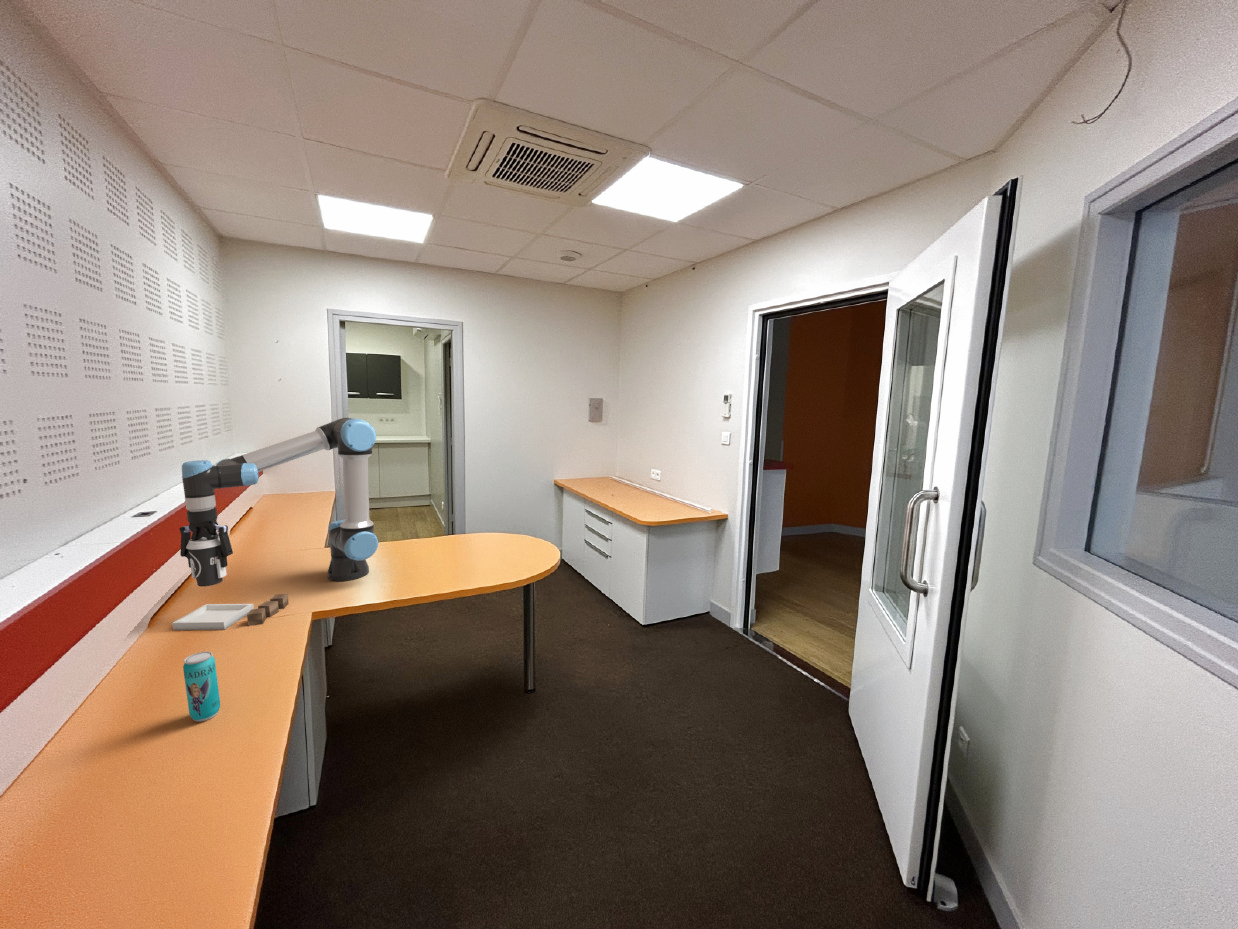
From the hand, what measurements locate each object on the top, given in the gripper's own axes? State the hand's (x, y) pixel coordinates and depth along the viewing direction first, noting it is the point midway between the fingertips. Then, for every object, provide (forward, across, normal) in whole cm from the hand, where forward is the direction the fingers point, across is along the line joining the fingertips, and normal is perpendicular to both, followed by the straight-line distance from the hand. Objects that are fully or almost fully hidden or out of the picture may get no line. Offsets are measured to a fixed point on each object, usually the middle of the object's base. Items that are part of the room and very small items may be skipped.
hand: (209, 576), depth 169 cm
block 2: (+15, -15, -4) cm, 22 cm away
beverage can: (+15, -35, +51) cm, 64 cm away
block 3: (+15, -15, -10) cm, 24 cm away
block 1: (+15, -15, +2) cm, 22 cm away
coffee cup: (+2, 0, 0) cm, 2 cm away
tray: (+15, 0, 0) cm, 15 cm away
